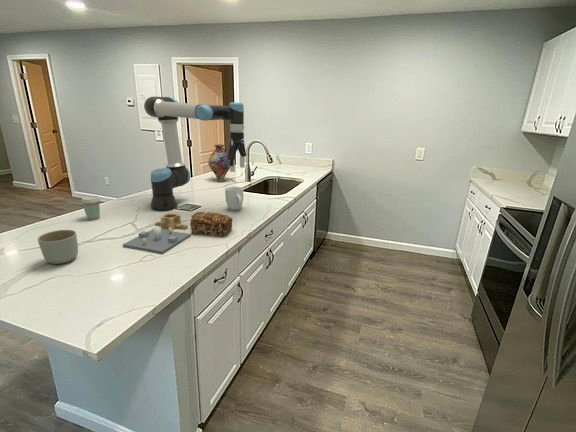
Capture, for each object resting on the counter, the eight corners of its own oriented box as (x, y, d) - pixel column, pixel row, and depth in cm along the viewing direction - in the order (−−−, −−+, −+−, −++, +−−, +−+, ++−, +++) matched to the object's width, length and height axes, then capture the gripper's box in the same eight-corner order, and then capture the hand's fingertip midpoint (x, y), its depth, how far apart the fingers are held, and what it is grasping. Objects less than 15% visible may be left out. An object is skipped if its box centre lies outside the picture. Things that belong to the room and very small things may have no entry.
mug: (249, 211, 193) (249, 191, 189) (232, 214, 187) (232, 193, 183) (239, 205, 205) (238, 185, 201) (223, 207, 199) (222, 187, 195)
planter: (39, 269, 120) (33, 243, 117) (48, 256, 131) (42, 231, 127) (78, 264, 125) (72, 239, 121) (83, 251, 136) (78, 228, 132)
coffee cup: (106, 217, 176) (102, 196, 172) (91, 222, 168) (87, 200, 164) (96, 215, 179) (92, 194, 175) (81, 219, 172) (76, 198, 168)
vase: (210, 178, 275) (209, 143, 265) (232, 178, 277) (231, 143, 267) (207, 183, 257) (205, 146, 248) (231, 183, 260) (230, 146, 250)
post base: (123, 246, 141) (121, 233, 139) (154, 230, 160) (153, 219, 158) (163, 254, 136) (161, 240, 134) (190, 236, 155) (189, 224, 153)
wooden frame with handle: (152, 226, 165) (151, 215, 163) (161, 222, 172) (160, 211, 170) (182, 231, 160) (181, 220, 158) (190, 226, 167) (189, 216, 165)
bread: (190, 234, 158) (189, 215, 154) (199, 226, 168) (198, 208, 164) (226, 237, 155) (225, 218, 152) (233, 230, 165) (232, 211, 162)
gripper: (233, 133, 164) (234, 174, 171) (251, 130, 187) (251, 166, 194) (220, 132, 166) (221, 172, 173) (239, 129, 188) (240, 165, 195)
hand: (237, 169), depth 183 cm, fingers open, 13 cm apart
